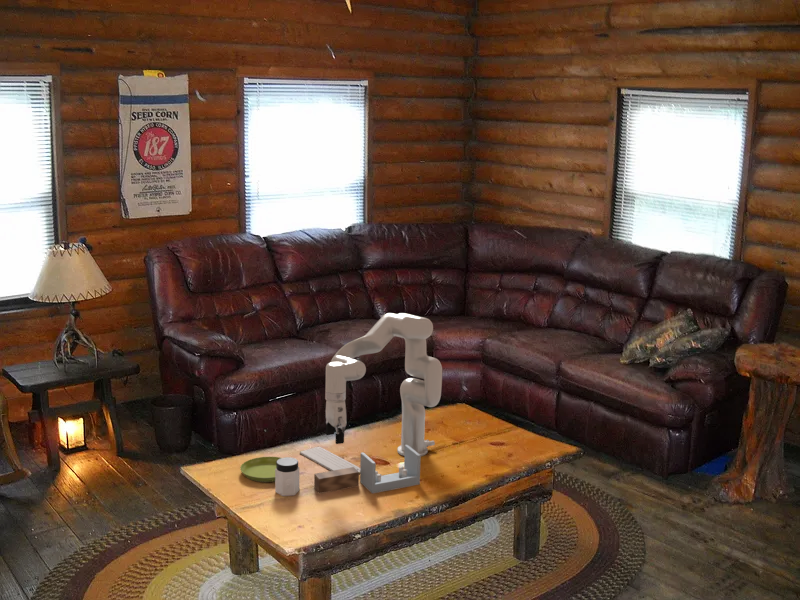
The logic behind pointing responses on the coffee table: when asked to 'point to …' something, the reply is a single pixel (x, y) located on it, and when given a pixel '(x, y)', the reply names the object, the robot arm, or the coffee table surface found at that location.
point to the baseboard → (327, 459)
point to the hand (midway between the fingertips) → (334, 438)
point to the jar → (287, 476)
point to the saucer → (260, 469)
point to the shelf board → (336, 480)
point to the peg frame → (404, 478)
